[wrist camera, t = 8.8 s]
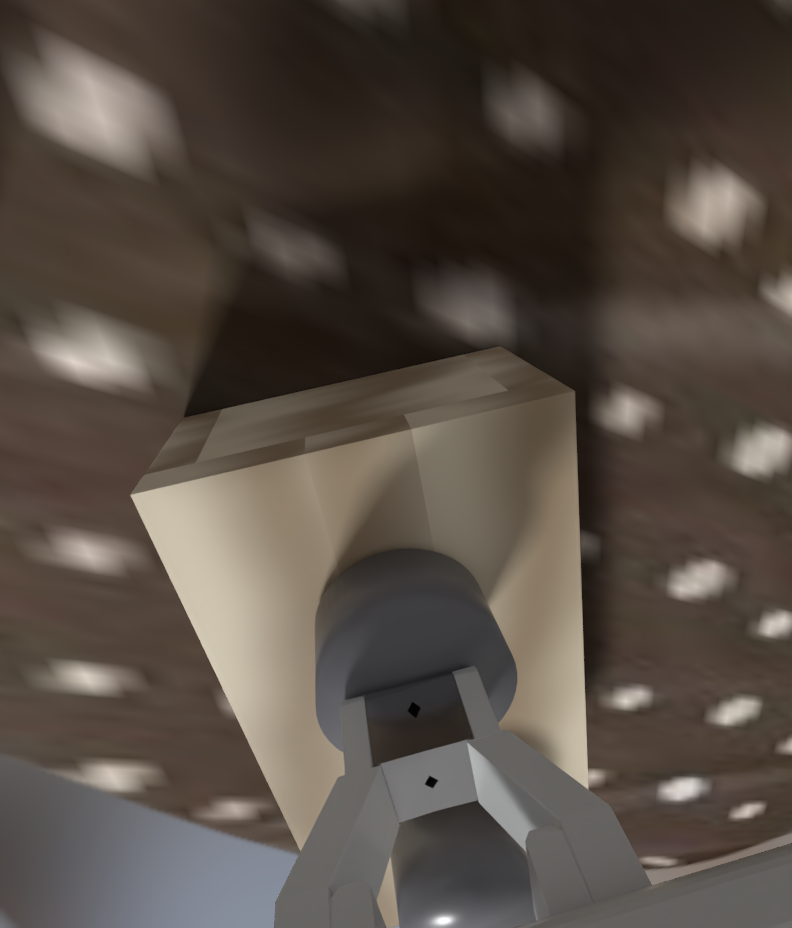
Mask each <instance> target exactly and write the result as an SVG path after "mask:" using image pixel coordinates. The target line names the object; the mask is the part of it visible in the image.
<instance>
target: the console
mask: <svg viewBox="0 0 792 928" xmlns="http://www.w3.org/2000/svg"><path fill="white" fill-rule="evenodd" d="M131 497H132V499H133V501H134V504H135V506H136V508H137V510H138V512H139V514H140V516H141V518H142V520H143V522H144V524H145V527H146V529H147V531H148V533H149V535H150V537H151V539H152V541H153V543H154V545H155V547H156V550H157V552H158V554H159V556H160V558H161V560H162V562H163V564H164V566H165V568H166V571H167V573H168V575H169V577H170V579H171V581H172V583H173V585H174V587H175V589H176V591H177V594H178V596H179V598H180V600H181V602H182V604H183V606H184V608H185V610H186V612H187V614H188V617H189V619H190V621H191V623H192V625H193V627H194V629H195V631H196V633H197V635H198V637H199V640H200V642H201V644H202V646H203V648H204V650H205V652H206V654H207V656H208V658H209V661H210V663H211V665H212V667H213V669H214V671H215V673H216V675H217V677H218V679H219V681H220V684H221V686H222V688H223V690H224V692H225V694H226V696H227V698H228V700H229V702H230V704H231V707H232V709H233V711H234V713H235V715H236V717H237V719H238V721H239V723H240V725H241V728H242V730H243V732H244V734H245V736H246V738H247V740H248V742H249V744H250V746H251V748H252V751H253V753H254V755H255V757H256V759H257V761H258V763H259V765H260V767H261V769H262V771H263V774H264V776H265V778H266V780H267V782H268V784H269V786H270V788H271V790H272V792H273V795H274V797H275V799H276V801H277V803H278V805H279V807H280V809H281V811H282V813H283V815H284V818H285V820H286V822H287V824H288V826H289V828H290V830H291V832H292V834H293V836H294V838H295V841H296V843H297V845H298V847H299V849H300V851H301V850H302V848H303V846H304V844H305V842H306V840H307V838H308V836H309V834H310V832H311V830H312V828H313V826H314V824H315V822H316V820H317V818H318V816H319V814H320V812H321V810H322V808H323V806H324V804H325V802H326V800H327V798H328V796H329V794H330V792H331V790H332V788H333V786H334V784H335V782H336V780H337V778H338V777H340V776H343V775H345V768H344V754H343V752H341V751H340V750H338V749H337V748H336V747H335V746H334V745H333V744H332V743H331V742H330V741H329V740H328V739H327V738H326V736H325V735H324V734H323V732H322V730H321V728H320V726H319V723H318V719H317V716H316V704H315V616H316V612H317V608H318V605H319V603H320V601H321V598H322V597H323V595H324V593H325V592H326V590H327V589H328V587H329V586H330V585H331V584H332V583H333V581H334V580H335V579H336V578H337V577H338V576H340V575H341V574H342V573H343V572H344V571H346V570H347V569H348V568H350V567H351V566H353V565H354V564H356V563H358V562H360V561H361V560H363V559H366V558H368V557H370V556H373V555H376V554H379V553H382V552H386V551H391V550H397V549H424V550H430V551H434V552H438V553H441V554H444V555H446V556H448V557H451V558H453V559H454V560H456V561H458V562H459V563H461V564H462V565H463V566H464V567H466V568H467V569H468V570H469V571H470V573H471V574H472V575H473V576H474V578H475V579H476V581H477V582H478V584H479V586H480V588H481V590H482V592H483V595H484V597H485V599H486V601H487V603H488V605H489V607H490V609H491V611H492V613H493V615H494V618H495V620H496V622H497V624H498V626H499V628H500V630H501V632H502V634H503V636H504V638H505V641H506V643H507V645H508V647H509V649H510V651H511V653H512V656H513V658H514V660H515V663H516V668H517V687H516V692H515V695H514V699H513V701H512V703H511V705H510V707H509V709H508V711H507V713H506V714H505V716H504V717H503V719H502V720H501V721H500V722H499V723H498V724H499V727H500V729H501V731H505V730H509V731H511V732H512V733H513V734H515V735H516V736H517V737H519V738H520V739H521V740H523V741H524V742H525V743H527V744H528V745H529V746H531V747H532V748H533V749H535V750H536V751H537V752H539V753H540V754H541V755H543V756H544V757H545V758H547V759H548V760H549V761H551V762H552V763H553V764H555V765H556V766H557V767H559V768H560V769H562V770H563V771H564V772H566V773H567V774H568V775H570V776H571V777H572V778H574V779H575V780H576V781H578V782H579V783H580V784H582V785H583V786H584V787H586V788H587V789H588V767H587V737H586V707H585V678H584V648H583V618H582V588H581V558H580V528H579V499H578V469H577V439H576V409H575V391H574V390H572V389H571V388H569V387H567V386H566V385H564V384H562V383H561V382H559V381H557V380H556V379H554V378H552V377H551V376H549V375H548V374H546V373H544V372H543V371H541V370H539V369H538V368H536V367H534V366H533V365H531V364H529V363H528V362H526V361H524V360H523V359H521V358H519V357H518V356H516V355H514V354H513V353H511V352H509V351H508V350H506V349H504V348H503V347H501V346H499V347H494V348H490V349H486V350H481V351H477V352H472V353H468V354H464V355H459V356H455V357H450V358H446V359H441V360H437V361H433V362H428V363H424V364H419V365H415V366H411V367H406V368H402V369H397V370H393V371H388V372H384V373H380V374H375V375H371V376H366V377H362V378H358V379H353V380H349V381H344V382H340V383H335V384H331V385H327V386H322V387H318V388H313V389H309V390H304V391H300V392H296V393H291V394H287V395H282V396H278V397H274V398H269V399H265V400H260V401H256V402H251V403H247V404H243V405H238V406H234V407H229V408H225V409H221V410H216V411H212V412H207V413H203V414H198V415H194V416H190V417H185V418H183V419H182V420H181V421H180V423H179V424H178V426H177V427H176V429H175V430H174V432H173V433H172V435H171V436H170V438H169V439H168V441H167V442H166V443H165V445H164V446H163V448H162V449H161V451H160V452H159V454H158V455H157V457H156V458H155V460H154V461H153V463H152V464H151V465H150V467H149V468H148V470H147V471H146V473H145V474H144V476H143V477H142V479H141V480H140V482H139V483H138V484H137V486H136V487H135V489H134V490H133V492H132V493H131ZM403 822H404V821H403ZM403 822H400V823H399V826H400V825H401V824H402V823H403ZM526 854H527V852H526ZM377 904H378V907H379V909H380V912H381V914H382V917H383V920H384V922H385V925H386V927H387V928H391V927H394V926H397V925H399V919H398V911H397V903H396V895H395V888H394V880H393V872H392V864H391V857H390V859H389V862H388V865H387V869H386V872H385V875H384V879H383V882H382V885H381V888H380V892H379V895H378V898H377Z"/></svg>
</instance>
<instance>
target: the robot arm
mask: <svg viewBox="0 0 792 928" xmlns="http://www.w3.org/2000/svg"><path fill="white" fill-rule="evenodd" d="M340 709H341V724H342V739H343V754H344V768H345V775H343V776H340V777H338V778H337V780H336V782H335V784H334V786H333V788H332V790H331V792H330V794H329V796H328V798H327V800H326V802H325V804H324V806H323V808H322V810H321V812H320V814H319V816H318V818H317V820H316V822H315V824H314V826H313V828H312V830H311V832H310V834H309V836H308V838H307V840H306V842H305V844H304V846H303V848H302V850H301V852H300V854H299V856H298V858H297V860H296V862H295V864H294V866H293V868H292V870H291V872H290V874H289V876H288V878H287V880H286V882H285V884H284V886H283V888H282V890H281V892H280V894H279V896H278V898H277V900H276V902H275V921H274V928H387V927H386V925H385V922H384V920H383V917H382V914H381V912H380V909H379V907H378V904H377V898H378V895H379V892H380V888H381V885H382V882H383V879H384V875H385V872H386V869H387V865H388V862H389V859H390V856H391V852H392V849H393V846H394V843H395V839H396V836H397V833H398V829H399V823H400V822H403V821H406V820H409V819H413V818H416V817H419V816H422V815H425V814H428V813H431V812H434V811H438V810H441V809H445V808H449V807H453V806H457V805H461V804H465V803H469V802H473V801H477V800H478V801H479V803H480V804H481V805H482V806H483V807H484V808H485V810H486V811H487V812H488V813H489V814H490V815H491V816H492V817H493V818H494V819H495V820H496V821H497V822H498V823H499V824H500V825H501V826H502V827H503V828H504V829H505V830H506V831H507V832H508V833H509V835H510V836H511V837H512V838H513V839H514V840H515V841H516V842H517V843H518V844H519V845H520V846H521V847H522V848H523V849H524V850H525V851H526V852H527V860H528V867H529V875H530V883H531V891H532V898H533V906H534V914H535V917H536V920H537V921H533V922H530V923H527V924H523V925H520V926H517V927H514V928H792V843H791V844H787V845H784V846H781V847H777V848H774V849H771V850H768V851H764V852H761V853H758V854H755V855H751V856H748V857H745V858H741V859H738V860H735V861H731V862H728V863H725V864H721V865H718V866H715V867H712V868H708V869H705V870H702V871H699V872H695V873H692V874H688V875H685V876H682V877H679V878H675V879H672V880H669V881H665V882H662V883H659V884H656V885H652V884H651V882H650V881H649V879H648V877H647V875H646V873H645V871H644V869H643V867H642V865H641V863H640V861H639V860H638V858H637V856H636V854H635V852H634V850H633V848H632V846H631V844H630V843H629V841H628V839H627V837H626V835H625V833H624V831H623V829H622V827H621V825H620V824H619V822H618V820H617V818H616V816H615V814H614V812H613V810H612V808H611V807H610V805H608V804H607V803H606V802H604V801H603V800H602V799H600V798H599V797H598V796H596V795H595V794H594V793H592V792H591V791H590V790H588V789H587V788H586V787H584V786H583V785H582V784H580V783H579V782H578V781H576V780H575V779H574V778H572V777H571V776H570V775H568V774H567V773H566V772H564V771H563V770H562V769H560V768H559V767H557V766H556V765H555V764H553V763H552V762H551V761H549V760H548V759H547V758H545V757H544V756H543V755H541V754H540V753H539V752H537V751H536V750H535V749H533V748H532V747H531V746H529V745H528V744H527V743H525V742H524V741H523V740H521V739H520V738H519V737H517V736H516V735H515V734H513V733H512V732H511V731H509V730H505V731H501V729H500V727H499V724H498V722H497V719H496V717H495V714H494V711H493V709H492V706H491V704H490V701H489V699H488V696H487V694H486V691H485V688H484V686H483V683H482V681H481V678H480V676H479V673H478V671H477V669H476V668H475V666H471V667H467V668H464V669H460V670H456V671H453V672H452V673H451V672H448V673H444V674H441V675H437V676H434V677H430V678H427V679H423V680H419V681H416V682H412V683H409V684H408V685H404V686H400V687H396V688H391V689H387V690H383V691H379V692H375V693H371V694H366V695H363V696H359V697H355V698H351V699H347V700H343V701H341V708H340Z"/></svg>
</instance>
